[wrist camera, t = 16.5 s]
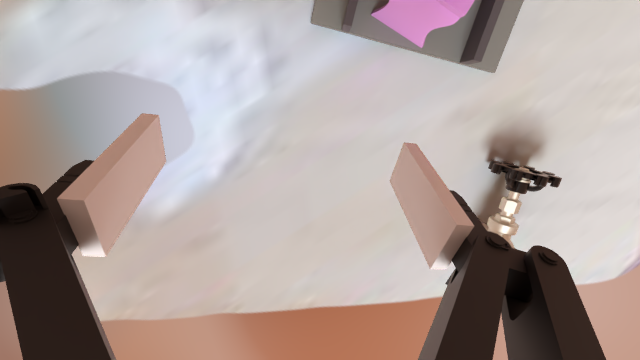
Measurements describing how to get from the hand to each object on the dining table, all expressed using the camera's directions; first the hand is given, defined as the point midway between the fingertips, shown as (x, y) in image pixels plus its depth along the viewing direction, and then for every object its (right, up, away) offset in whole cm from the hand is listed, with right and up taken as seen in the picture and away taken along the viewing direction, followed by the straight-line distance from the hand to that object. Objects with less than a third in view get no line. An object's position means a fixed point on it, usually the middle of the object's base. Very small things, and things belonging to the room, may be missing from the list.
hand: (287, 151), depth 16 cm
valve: (+23, -5, +20) cm, 31 cm away
